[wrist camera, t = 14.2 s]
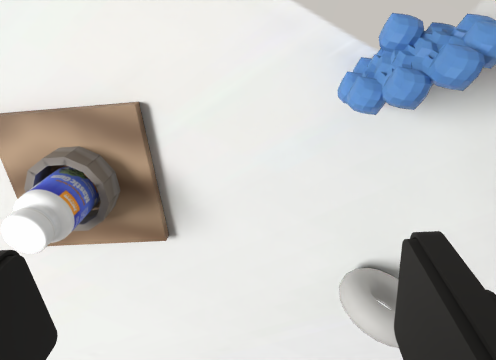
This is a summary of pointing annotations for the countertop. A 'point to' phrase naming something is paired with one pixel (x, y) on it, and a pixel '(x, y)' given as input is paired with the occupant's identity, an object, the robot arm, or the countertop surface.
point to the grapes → (419, 62)
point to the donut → (371, 302)
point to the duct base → (104, 140)
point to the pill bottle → (50, 210)
